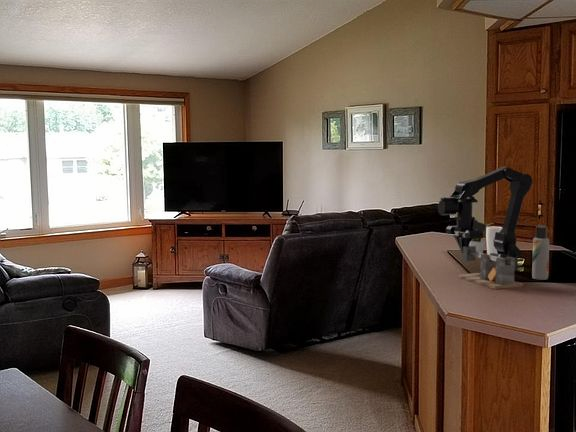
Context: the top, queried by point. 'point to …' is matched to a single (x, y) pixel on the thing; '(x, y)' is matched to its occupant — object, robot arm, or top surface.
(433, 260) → the top surface
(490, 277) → the spacer
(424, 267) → the top surface
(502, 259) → the shaft stand
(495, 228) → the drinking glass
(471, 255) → the shaft
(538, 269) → the lotion bottle
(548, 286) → the top surface
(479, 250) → the house plant
